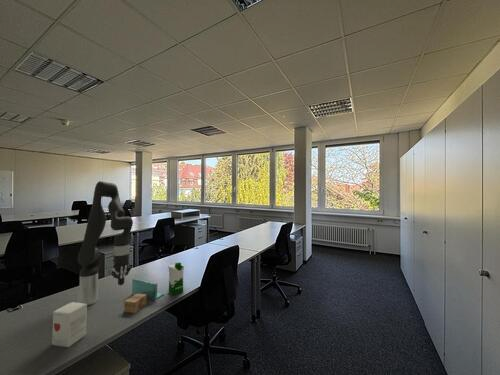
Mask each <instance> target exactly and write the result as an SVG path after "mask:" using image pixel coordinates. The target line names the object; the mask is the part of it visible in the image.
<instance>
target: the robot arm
mask: <svg viewBox="0 0 500 375" xmlns="http://www.w3.org/2000/svg"><path fill="white" fill-rule="evenodd" d="M104 197H105V198H110V199H111V200H110V202H109V203H108V206H107V209H108V212H109V216H110V228H111V229H112V231H122V232H120V233H118V234H116V235H114V239H113V240H114V244H113V266H112V267H113V268H112V269H111V270H109V271H108V274H110V275H111V276H112V277H113V279H117V285H118V286H123V285H124V284H125V278H126V276H128V275H129V273H130V271H131V270H132V268H133V264H130V233H131V230H132V228H133V222H134V221H133V219H132V217H131V216H125V215H126V214H125V210H124V208H123V206H122V203H121V200H120V199H121V198H120V194H119V189H118V186H117V184H115V183H112V182H106V181H102V180H101V181H97V182H96V184H95V187H94V192H93V199H92V204H91V207H90V208H91V209H90V213H89V216H88V220H87V223H86V229H85V232H84V237H83V241H82V244H81V246H80V250H79V252H78V255H77V262H78V264H79V265H81V266H82V268H81V269H80V271H79V287H78V288H77V298H76V299H77V301H76V303H84V304H87V306H90V305H93V304H95V303H96V302H98V301H99V300H98V297H99V294H98V292H99V291H98V290H99V270H100V267H101V266H100V265H101V251H100V249H99V248H97V243H98V241H99V239H100V238H101V236H102V234H103V232H104V229H105V227H106V223H107V219H108V218H107V214H106V212H105V210H104V208H103V206H102V198H104Z"/></svg>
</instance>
